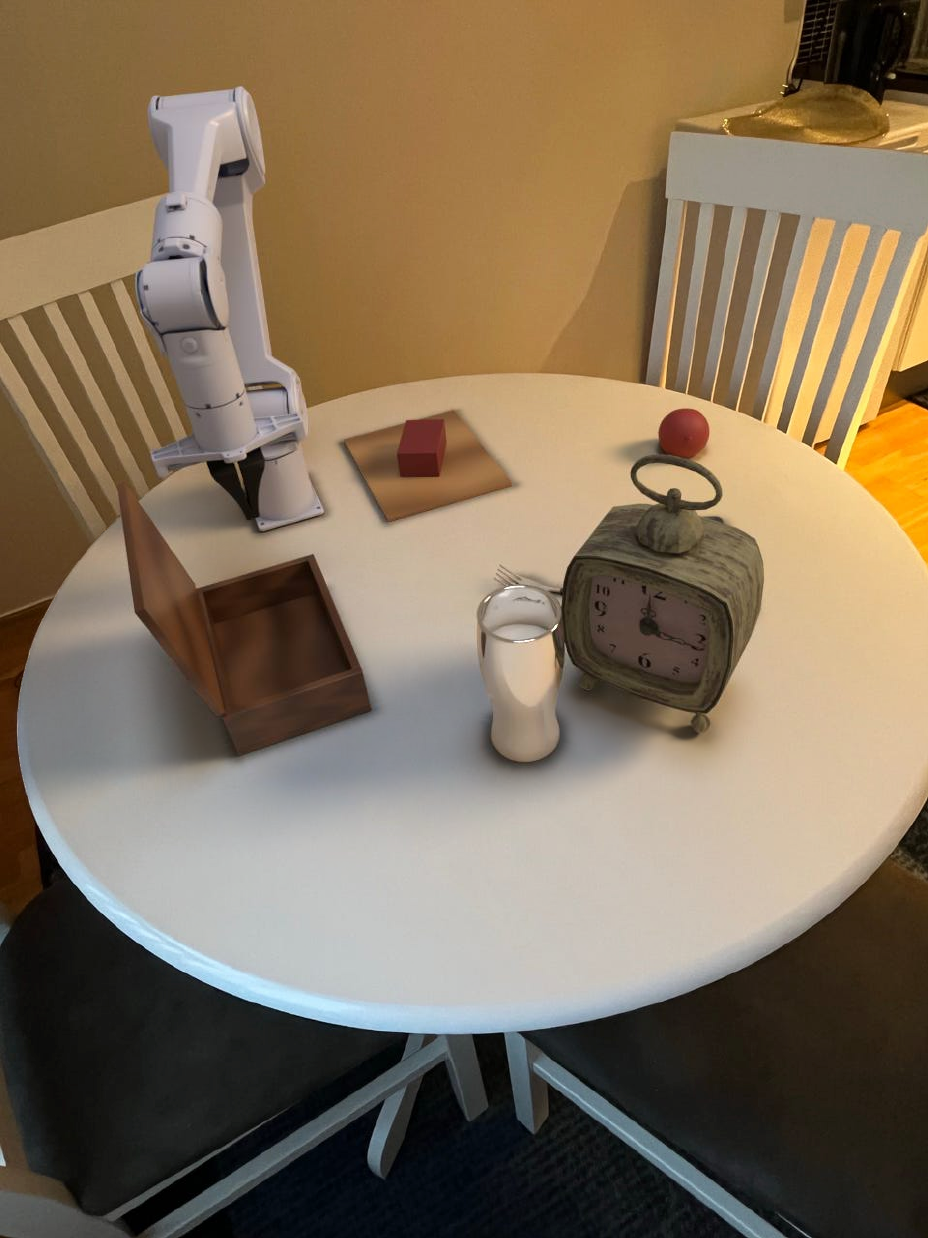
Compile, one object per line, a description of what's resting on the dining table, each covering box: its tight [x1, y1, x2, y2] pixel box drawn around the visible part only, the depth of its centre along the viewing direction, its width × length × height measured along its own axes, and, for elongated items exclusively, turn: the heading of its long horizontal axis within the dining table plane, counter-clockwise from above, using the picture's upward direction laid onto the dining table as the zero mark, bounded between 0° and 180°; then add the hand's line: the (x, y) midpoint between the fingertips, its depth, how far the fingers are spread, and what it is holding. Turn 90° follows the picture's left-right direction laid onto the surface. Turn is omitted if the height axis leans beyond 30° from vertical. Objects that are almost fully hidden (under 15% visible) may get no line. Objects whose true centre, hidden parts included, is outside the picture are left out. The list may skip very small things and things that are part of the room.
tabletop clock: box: [560, 453, 765, 734], centre depth 68 cm, size 14×9×25 cm, turn 58°
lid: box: [116, 481, 225, 717], centre depth 73 cm, size 13×19×1 cm
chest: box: [196, 553, 373, 757], centre depth 81 cm, size 13×19×5 cm
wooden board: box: [343, 409, 513, 523], centre depth 107 cm, size 20×16×1 cm
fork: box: [493, 564, 563, 594], centre depth 86 cm, size 3×16×2 cm, turn 73°
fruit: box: [657, 408, 710, 459], centre depth 102 cm, size 6×6×8 cm
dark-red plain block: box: [397, 419, 447, 477], centre depth 106 cm, size 5×8×4 cm, turn 174°
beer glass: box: [476, 583, 566, 763], centre depth 69 cm, size 7×7×15 cm
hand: (251, 513), depth 86 cm, fingers closed
